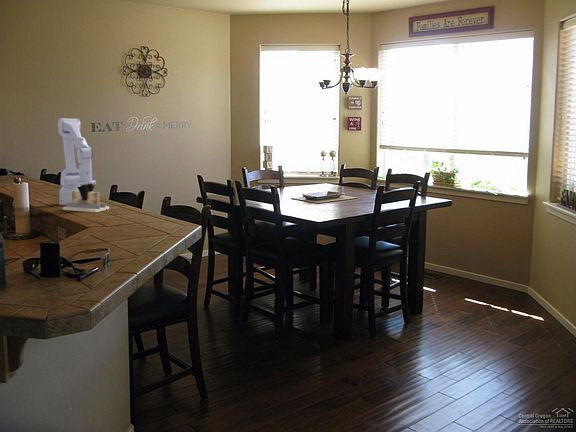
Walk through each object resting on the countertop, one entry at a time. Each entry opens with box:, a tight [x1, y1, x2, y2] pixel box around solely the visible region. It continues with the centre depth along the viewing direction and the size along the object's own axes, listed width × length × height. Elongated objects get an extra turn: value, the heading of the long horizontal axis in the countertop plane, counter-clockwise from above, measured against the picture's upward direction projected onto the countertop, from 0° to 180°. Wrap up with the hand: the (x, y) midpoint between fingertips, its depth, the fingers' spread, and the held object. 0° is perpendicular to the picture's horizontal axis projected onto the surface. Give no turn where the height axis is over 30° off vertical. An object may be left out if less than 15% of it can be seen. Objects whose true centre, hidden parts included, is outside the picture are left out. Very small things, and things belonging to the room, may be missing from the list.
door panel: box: [72, 191, 101, 205], centre depth 293 cm, size 14×2×7 cm, turn 75°
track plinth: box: [62, 202, 110, 213], centre depth 294 cm, size 18×12×3 cm, turn 75°
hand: (86, 200), depth 293 cm, fingers closed on door panel, 2 cm apart
